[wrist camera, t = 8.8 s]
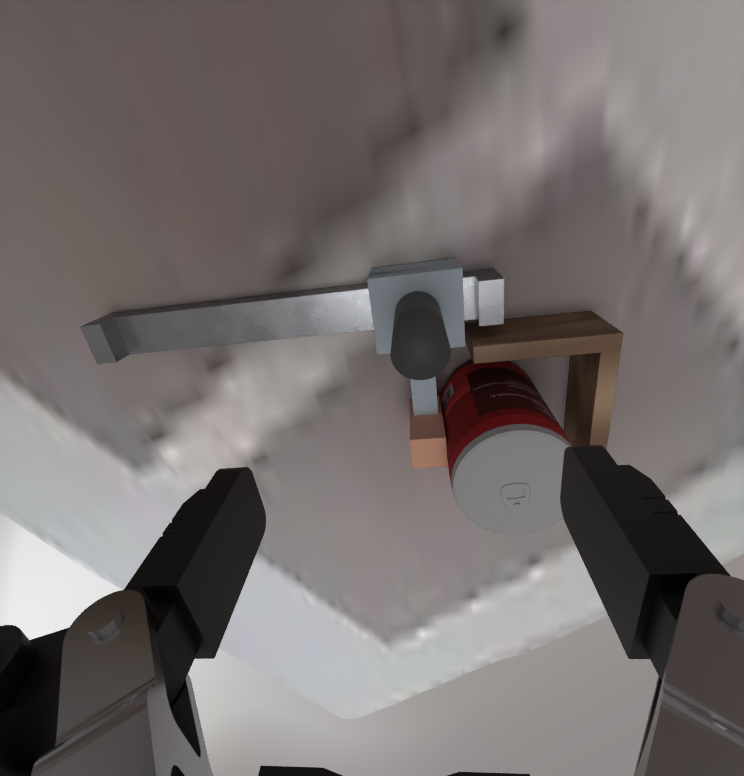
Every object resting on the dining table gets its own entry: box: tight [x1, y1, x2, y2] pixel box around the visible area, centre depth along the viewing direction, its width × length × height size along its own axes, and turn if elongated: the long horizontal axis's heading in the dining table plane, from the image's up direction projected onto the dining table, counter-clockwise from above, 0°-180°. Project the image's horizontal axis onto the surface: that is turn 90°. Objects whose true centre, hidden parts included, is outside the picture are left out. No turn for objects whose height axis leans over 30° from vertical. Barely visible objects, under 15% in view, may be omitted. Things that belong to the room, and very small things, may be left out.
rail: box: [80, 268, 504, 364], centre depth 30 cm, size 3×30×4 cm, turn 97°
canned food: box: [441, 361, 573, 535], centre depth 29 cm, size 8×8×11 cm
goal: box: [465, 311, 623, 449], centre depth 32 cm, size 15×9×5 cm, turn 7°
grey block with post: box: [367, 258, 465, 468], centre depth 27 cm, size 13×6×11 cm, turn 7°
